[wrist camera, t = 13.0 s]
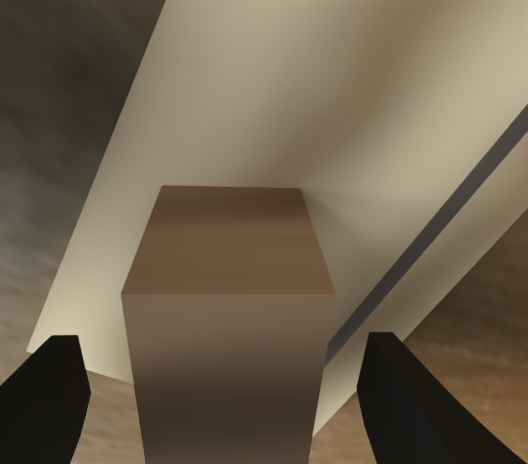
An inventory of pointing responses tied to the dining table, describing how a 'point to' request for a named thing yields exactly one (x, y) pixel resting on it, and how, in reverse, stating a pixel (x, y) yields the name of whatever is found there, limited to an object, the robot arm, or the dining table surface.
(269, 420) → the block
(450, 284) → the pine board
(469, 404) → the dining table surface
